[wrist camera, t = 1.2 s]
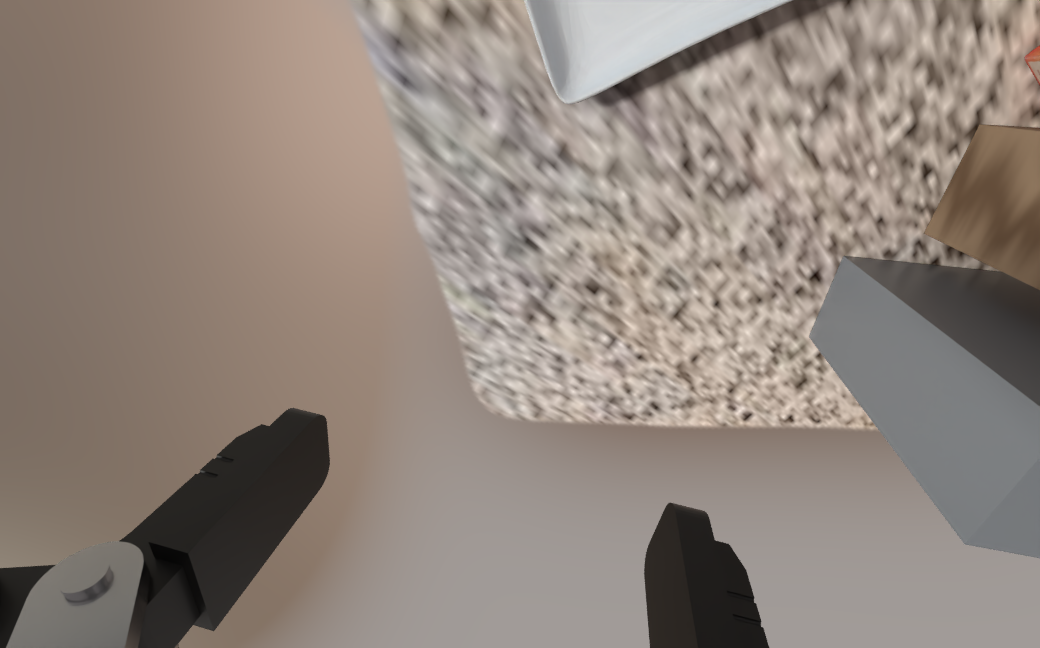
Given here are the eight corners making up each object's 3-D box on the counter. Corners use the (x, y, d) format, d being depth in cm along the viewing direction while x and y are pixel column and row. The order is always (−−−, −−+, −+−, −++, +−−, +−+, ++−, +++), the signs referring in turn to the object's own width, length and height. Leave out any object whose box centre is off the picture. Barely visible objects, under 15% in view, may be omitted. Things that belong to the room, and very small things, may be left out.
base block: (843, 256, 37) (1066, 427, 19) (1005, 272, 35) (1429, 479, 17) (808, 336, 41) (964, 544, 23) (953, 355, 39) (1250, 596, 21)
